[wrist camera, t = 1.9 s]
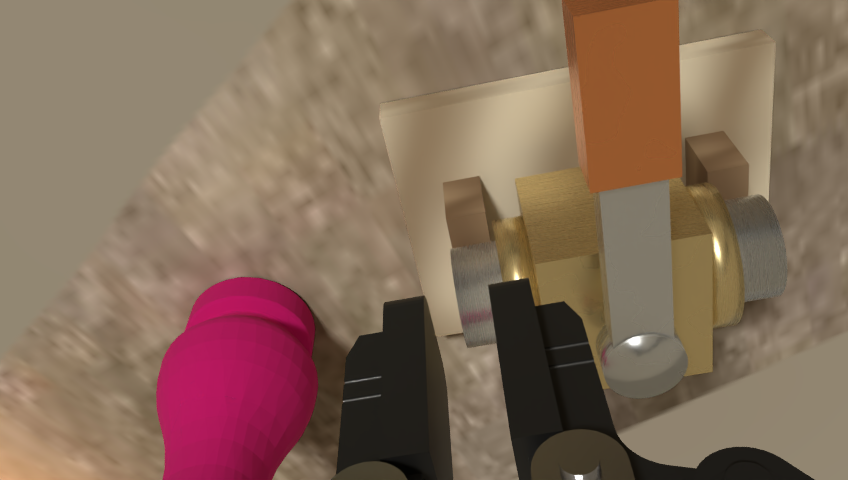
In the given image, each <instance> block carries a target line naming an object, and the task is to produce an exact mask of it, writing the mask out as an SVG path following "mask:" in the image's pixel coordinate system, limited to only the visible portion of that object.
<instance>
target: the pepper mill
mask: <svg viewBox="0 0 848 480" xmlns="http://www.w3.org/2000/svg"><path fill="white" fill-rule="evenodd" d="M314 337H315V324H314V319H313V317H312V314H311V312H310V310H309V308H308V307H307V305H306V304H305V303H304V301H303V300H302V299H301V298H299V297H298V296H297V295H296V294H295V293H294V292H293V291H291V290H290V289H288V288H286V287H284V286H283V285H281V284H279V283H277V282H273V281H269V280H266V279H262V278H251V277H239V278H234V279H229V280H225V281H223V282H220V283H217V284H215V285H213V286H212V287H210V288H209V289H207V290H206V291H205V292H204V293H202V294H201V295H200V296H199V298H198V299H197V300H196V302H195V304H194V306H193V308H192V311H191V314H190V317H189V320H188V323H187V326H186V329H185V332H184V333H182V334H181V335H180V336H178V337H177V338H176V340H175V341H174V342H173V343H172V344H171V346H170V347H169V349H168V350H167V352H166V354H165V356H164V358H163V361H162V365H161V369H160V372H159V376H158V382H157V392H156V396H157V412H158V417H159V422H160V426H161V430H162V434H163V438H164V445H165V470H164V475H163V480H272V478H273V476H274V474H275V472H276V470H277V468H278V467H279V465H280V464H281V462H282V461H283V459H284V458H285V457H286V455H287V454H288V453H289V452H290V450H291V449H292V448H293V447H294V446H295V444H296V443H297V442H298V441H299V439H300V437H301V436H302V434H303V433H304V431H305V429H306V427H307V425H308V423H309V421H310V419H311V416H312V413H313V410H314V406H315V401H316V397H317V391H318V377H317V371H316V367H315V364H314V362H313V360H312V358H311V357H312V351H313V344H314Z"/></svg>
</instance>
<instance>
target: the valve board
mask: <svg viewBox="0 0 848 480" xmlns="http://www.w3.org/2000/svg"><path fill="white" fill-rule="evenodd" d="M775 45H776V42H775V41H774V40H773V39H772V38H770V37H769V36H768V35H767V34H766V33H765V32H764V31H763V30H756V31H751V32H746V33H741V34H736V35H730V36H725V37H720V38H715V39H710V40H705V41H700V42H695V43H689V44H684V45H679V52H680V95H681V138H682V177H680V179H681V181H682V183H683V184H684V186H689V185H694V184H700V183H705V182H709V183H711V184H713V185H714V186H715V187H716V188H717V190H718V191H719V192H720V194H721V196H722V198H723V200H728V199H734V198H739V197H745V196H751V195H756V194H759V195H762V196H763V197H764V198H766V200H767V201H768V200H769V178H770V156H771V134H772V111H773V89H774V67H775ZM379 119H380V123H381V127H382V131H383V135H384V139H385V143H386V147H387V151H388V155H389V159H390V163H391V167H392V171H393V175H394V179H395V183H396V187H397V191H398V195H399V199H400V203H401V207H402V211H403V215H404V219H405V223H406V227H407V231H408V235H409V239H410V243H411V247H412V251H413V255H414V259H415V263H416V267H417V271H418V275H419V279H420V283H421V287H422V291H423V295H424V296H425V297H426V299H427V302H428V306H429V310H430V314H431V318H432V322H433V326H434V330H435V334H436V337H439V336H445V335H451V334H457V333H463V329H462V325H461V320H460V315H459V310H458V304H457V298H456V293H455V286H454V280H453V273H452V265H451V256H450V249H452V248H457V247H463V246H469V245H474V244H480V243H486V242H491V241H495V236H494V230H493V225H492V221H494V220H499V219H505V218H511V217H516V216H520V210H519V204H518V197H517V191H516V185H515V179H516V178H521V177H526V176H532V175H537V174H543V173H548V172H554V171H559V170H565V169H570V168H575V167H580V166H579V161H578V152H577V142H576V133H575V123H574V113H573V104H572V94H571V85H570V75H569V67H566V68H561V69H556V70H551V71H546V72H541V73H536V74H530V75H525V76H520V77H515V78H510V79H505V80H500V81H495V82H489V83H484V84H479V85H474V86H469V87H464V88H459V89H453V90H448V91H443V92H438V93H433V94H428V95H423V96H418V97H412V98H407V99H402V100H397V101H392V102H387V103H382V104H380V117H379Z"/></svg>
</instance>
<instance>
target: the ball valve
mask: <svg viewBox="0 0 848 480" xmlns="http://www.w3.org/2000/svg"><path fill="white" fill-rule="evenodd" d="M515 185H516V191H517V197H518V204H519V210H520V216H516V217H511V218H505V219H499V220H494V221H492V225H493V230H494V236H495V241H491V242H486V243H480V244H474V245H469V246H463V247H457V248H452V249H450V256H451V265H452V273H453V280H454V286H455V293H456V298H457V304H458V310H459V315H460V320H461V325H462V329H463V334H464V338H465V342H466V345H467V347H468V348H471V347H477V346H483V345H489V344H495V343H497V342H496V335H495V329H494V322H493V315H492V309H491V302H490V295H489V289H488V284H494V283H500V282H506V281H512V280H517V279H523V278H529V281H530V286H531V290H532V295H533V299H534V304H535V306H539V305H545V304H550V303H556V302H562V301H564V302H565V303H566V304H568V305H569V306H570V307H571V308H572V309H573V310H574V311H575V312H576V313H577V314H578V315H579V316H580V317H581V318H582V320H583V324H584V327H585V330H586V334H587V337H588V341H589V345H590V347H591V351H592V354H593V357H594V362H595V364H596V368H597V371H598V374H599V378H600V381H601V385H602V388H603V389H608V388H610V387H609V386H608V384H607V383H606V380H605V378H604V374H603V371H602V368H601V364H600V361H599V358H598V355H597V351H596V339H597V336H598V334H599V332H600V330H601V329H602V327H603V326H604V325H605V313H604V303H603V292H602V282H601V271H600V261H599V250H598V240H597V229H596V219H595V208H594V198H593V193H591V194H590V191H589V189H588V186H587V184H586V181H585V179H584V176H583V173H582V171H581V168H580V167H575V168H570V169H565V170H559V171H554V172H548V173H543V174H537V175H532V176H526V177H521V178H516V179H515ZM669 195H670V225H671V254H672V283H673V312H674V326H675V329H676V331H677V333H678V336H679V338H680V340H681V342H682V345H683V347H684V349H685V351H686V354H687V357H688V367H687V370H686V373H685V375H684V376H690V375H696V374H702V373H709V372H713V329H714V328H721V327H727V326H733V325H737V324H738V323H739V322H740V320H741V318H742V315H743V310H744V302H748V301H754V300H760V299H766V298H772V297H778V296H780V295H781V294H782V293H783V292H784V289H785V286H786V281H787V258H786V250H785V244H784V240H783V235H782V232H781V228H780V225H779V222H778V220H777V217H776V215H775V213H774V210H773V209H772V207H771V205H770V204H769V202H768V201H767V200H766V198H764V197H763V196H762V195H759V194H756V195H751V196H745V197H739V198H734V199H728V200H723V198H722V196H721V194H720V192H719V191H718V190H717V188H716V187H715V186H714V185H713V184H711V183H709V182H705V183H700V184H694V185H689V186H684V184H683V183H682V181H681V179H680V178H674V179H669Z"/></svg>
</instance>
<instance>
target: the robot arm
mask: <svg viewBox="0 0 848 480" xmlns="http://www.w3.org/2000/svg"><path fill="white" fill-rule="evenodd" d="M488 289H489V295H490V302H491V309H492V315H493V322H494V329H495V335H496V342H497V349H498V355H499V362H500V368H501V375H502V382H503V388H504V395H505V402H506V408H507V415H508V422H509V428H510V435H511V441H512V446H513V451H514V456H515V461H516V466H517V471H518V476H519V480H814V479H813V478H811V477H810V476H808V475H806V474H805V473H803V472H802V471H800V470H799V469H797V468H796V467H794V466H792V465H791V464H789V463H788V462H786V461H785V460H783V459H781V458H780V457H778V456H776V455H774V454H772V453H769V452H767V451H764V450H760V449H756V448H750V447H732V448H726V449H722V450H719V451H717V452H714V453H712V454H710V455H709V456H707V457H706V458H705V459H704V460H703V461H702V462H701V463H700V464H699V466H698V467H697V468H696V469H695V468H686V467H678V466H670V465H664V464H659V463H655V462H652V461H649V460H647V459H645V458H642V457H640V456H639V455H637V454H636V453H634V452H632V451H631V450H630V449H629V448H628V447H626V446H625V444H624V443H623V442H622V441H621V440H620V438H619V437H618V435H617V433H616V431H615V428H614V425H613V422H612V418H611V415H610V412H609V408H608V405H607V401H606V398H605V395H604V391H603V388H602V385H601V381H600V378H599V374H598V371H597V368H596V364H595V362H594V357H593V354H592V351H591V347H590V345H589V341H588V337H587V334H586V330H585V327H584V324H583V320H582V318H581V317H580V316H579V315H578V314H577V313H576V312H575V311H574V310H573V309H572V308H571V307H570V306H569V305H568V304H566V303H565V302H564V301H562V302H556V303H550V304H545V305H539V306H535V304H534V299H533V295H532V290H531V286H530V281H529V278H523V279H517V280H512V281H506V282H500V283H494V284H488ZM344 381H345V385H344V390H343V404H342V414H341V425H340V437H339V449H338V461H337V472H336V475H335V476H334V477H333V478H332V479H331V480H453V471H452V456H451V441H450V426H449V411H448V397H447V387H446V379H445V373H444V368H443V363H442V358H441V354H440V350H439V346H438V342H437V338H436V334H435V330H434V326H433V322H432V318H431V314H430V310H429V306H428V302H427V299H426V297H425V296H419V297H413V298H407V299H401V300H396V301H390V302H385V303H384V307H383V332H379V333H373V334H367V335H361V336H359V337H358V339H357V341H356V342H355V344H354V346H353V347H352V349H351V351H350V352H349V354H348V356H347V357H346V366H345V378H344Z"/></svg>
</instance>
